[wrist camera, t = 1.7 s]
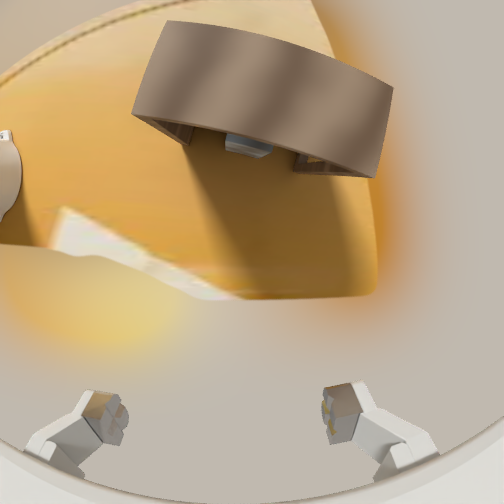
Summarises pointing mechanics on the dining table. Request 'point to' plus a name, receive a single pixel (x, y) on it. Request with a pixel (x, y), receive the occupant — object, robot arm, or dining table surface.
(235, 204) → the dining table surface
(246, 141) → the slate block
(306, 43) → the dining table surface
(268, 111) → the walnut box
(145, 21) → the dining table surface
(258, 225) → the dining table surface
